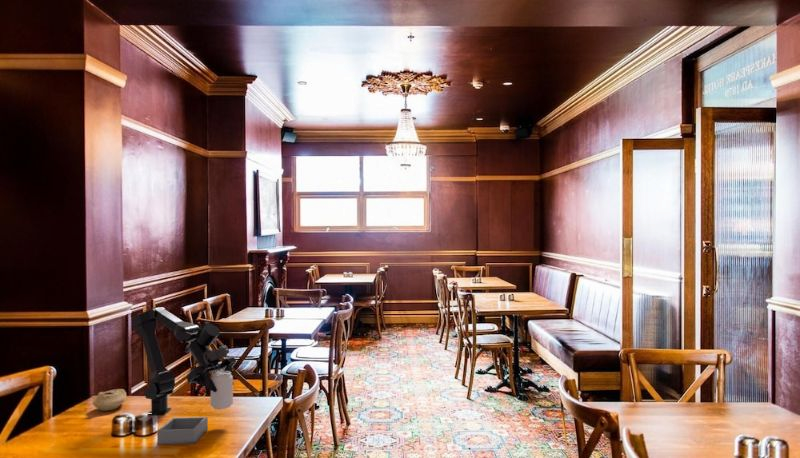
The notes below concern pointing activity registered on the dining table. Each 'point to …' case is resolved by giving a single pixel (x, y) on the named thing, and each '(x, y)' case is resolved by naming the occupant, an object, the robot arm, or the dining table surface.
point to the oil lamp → (109, 399)
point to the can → (222, 390)
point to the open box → (182, 430)
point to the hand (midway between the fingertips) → (224, 388)
